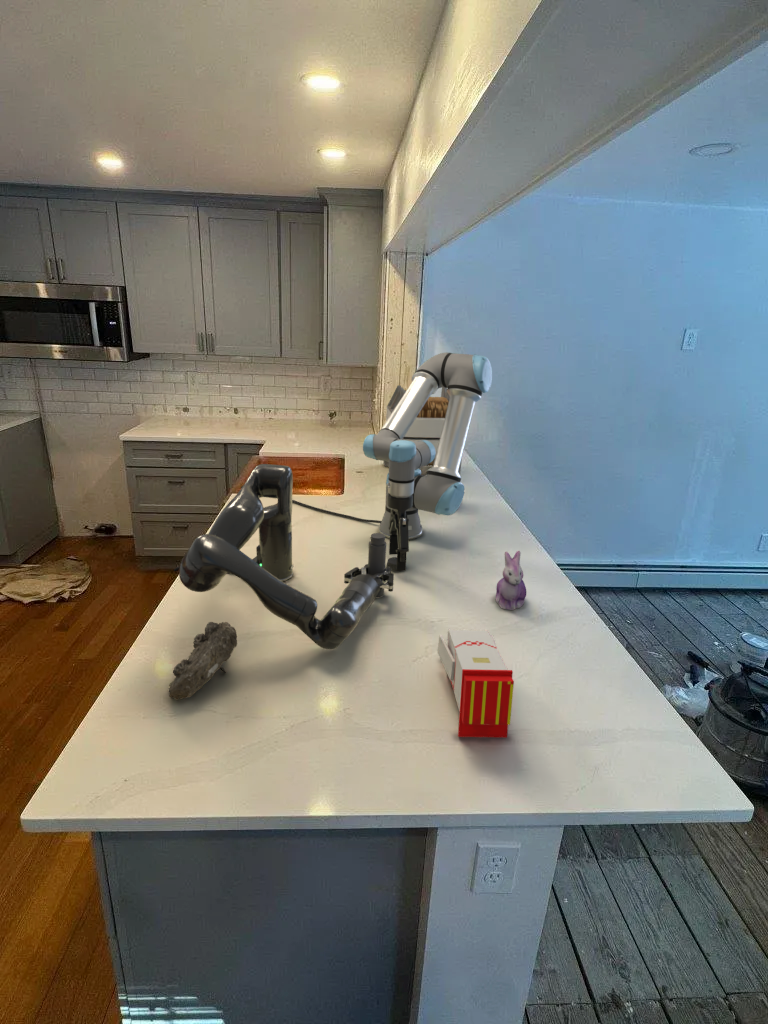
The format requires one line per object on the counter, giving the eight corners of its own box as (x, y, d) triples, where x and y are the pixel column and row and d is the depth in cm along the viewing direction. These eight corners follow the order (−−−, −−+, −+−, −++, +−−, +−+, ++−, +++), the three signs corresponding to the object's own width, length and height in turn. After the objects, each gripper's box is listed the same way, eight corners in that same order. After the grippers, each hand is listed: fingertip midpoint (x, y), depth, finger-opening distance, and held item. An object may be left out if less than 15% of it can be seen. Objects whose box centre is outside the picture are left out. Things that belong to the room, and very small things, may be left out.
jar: (367, 598, 155) (369, 539, 149) (366, 589, 159) (368, 532, 153) (384, 597, 155) (387, 539, 150) (383, 589, 160) (385, 532, 154)
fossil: (191, 624, 130) (237, 594, 125) (220, 652, 133) (266, 624, 128) (146, 693, 111) (199, 661, 106) (181, 724, 114) (234, 694, 109)
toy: (488, 613, 130) (523, 677, 101) (484, 667, 133) (517, 744, 104) (435, 612, 130) (455, 676, 101) (432, 666, 133) (451, 743, 103)
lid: (396, 562, 177) (396, 555, 177) (408, 568, 174) (408, 561, 173) (383, 567, 174) (383, 559, 173) (395, 573, 170) (395, 566, 169)
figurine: (508, 614, 149) (515, 562, 144) (485, 597, 158) (490, 547, 153) (536, 607, 153) (543, 557, 148) (511, 591, 162) (518, 542, 157)
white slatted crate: (382, 463, 289) (386, 382, 275) (445, 464, 293) (451, 384, 279) (390, 482, 257) (394, 392, 243) (460, 483, 261) (468, 394, 247)
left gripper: (332, 603, 145) (354, 575, 161) (385, 613, 142) (403, 584, 157) (332, 576, 143) (355, 551, 158) (387, 586, 139) (405, 559, 154)
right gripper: (380, 482, 176) (378, 547, 184) (395, 507, 155) (392, 580, 162) (404, 481, 177) (401, 546, 185) (422, 507, 156) (417, 578, 164)
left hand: (379, 567), depth 157 cm, fingers closed on jar, 4 cm apart
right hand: (397, 562), depth 174 cm, fingers open, 11 cm apart
